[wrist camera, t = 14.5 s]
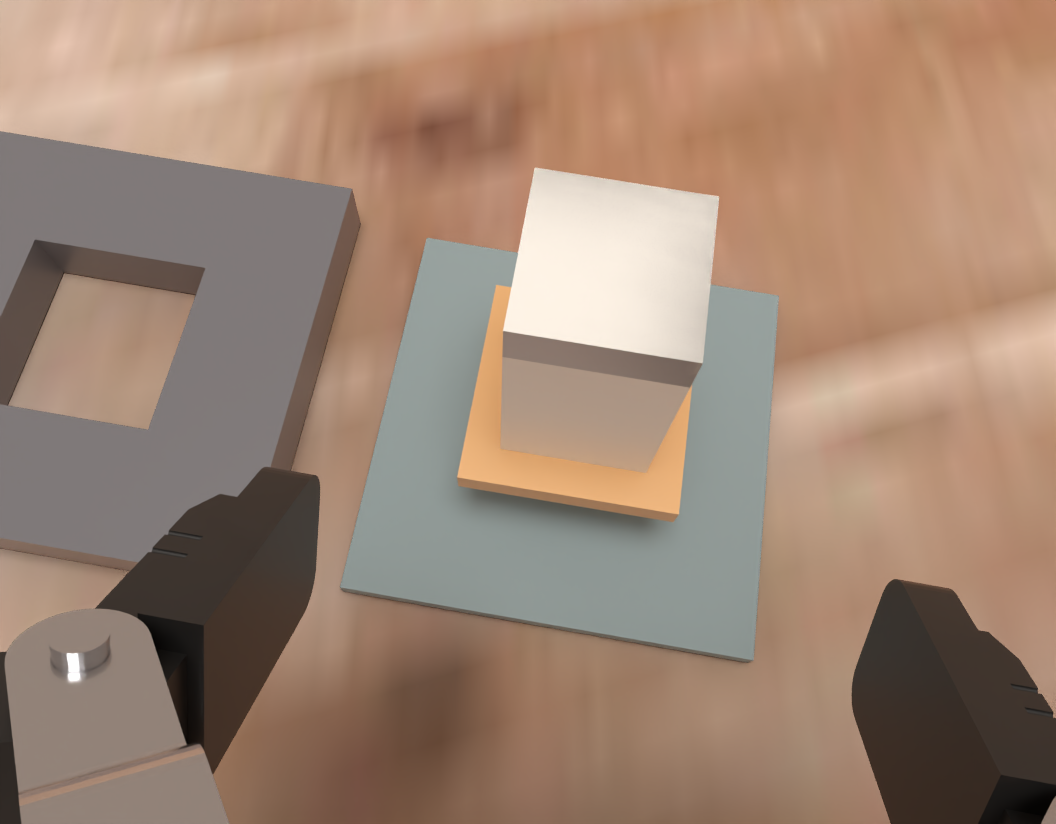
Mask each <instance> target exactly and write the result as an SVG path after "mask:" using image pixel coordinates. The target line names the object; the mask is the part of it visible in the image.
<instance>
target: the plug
mask: <svg viewBox="0 0 1056 824" xmlns="http://www.w3.org/2000/svg"><path fill="white" fill-rule="evenodd" d="M718 203H719V197H718V196H712V195H705V194H699V193H693V192H686V191H680V190H674V189H667V188H661V187H655V186H648V185H642V184H636V183H629V182H623V181H617V180H610V179H604V178H598V177H591V176H585V175H579V174H572V173H566V172H560V171H553V170H547V169H541V168H535V170H534V175H533V180H532V185H531V190H530V195H529V200H528V205H527V210H526V216H525V221H524V226H523V231H522V236H521V241H520V246H519V251H518V256H517V262H516V267H515V272H514V277H513V282H512V287H506V286H500V285H496V288H495V293H494V298H493V303H492V308H491V313H490V318H489V323H488V328H487V333H486V338H485V343H484V348H483V352H482V357H481V362H480V367H479V372H478V377H477V382H476V387H475V392H474V397H473V402H472V407H471V411H470V416H469V421H468V426H467V431H466V436H465V441H464V446H463V451H462V456H461V461H460V466H459V470H458V475H457V480H458V486H461V487H467V488H473V489H479V490H485V491H490V492H496V493H502V494H508V495H514V496H520V497H526V498H532V499H538V500H544V501H550V502H556V503H562V504H568V505H574V506H580V507H586V508H592V509H597V510H603V511H609V512H615V513H621V514H627V515H633V516H639V517H645V518H651V519H657V520H663V521H669V522H674V520H675V519H676V518H677V516H678V515H679V509H680V499H681V489H682V479H683V469H684V460H685V450H686V440H687V430H688V420H689V411H690V401H691V391H692V383H693V381H694V379H695V377H696V376H697V374H698V372H699V370H700V368H701V366H702V364H703V356H704V346H705V336H706V326H707V315H708V305H709V295H710V285H711V274H712V264H713V254H714V244H715V234H716V223H717V213H718Z"/></svg>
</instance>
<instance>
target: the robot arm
mask: <svg viewBox="0 0 1056 824" xmlns="http://www.w3.org/2000/svg"><path fill="white" fill-rule="evenodd" d="M319 503H320V482H319V479H318V477H317V476H316V475H311V474H305V473H300V472H294V471H288V470H283V469H277V468H271V467H263V468H262V469H261V470H260V471H259V472H258V473H257V474H256V476H255V477H254V478H253V479H252V480H251V481H250V483H249V484H248V485H247V486H246V487H245V488H244V490H243V491H242V492H241V493H240V494H239V495H238V497H235V496H230V495H224V494H218V495H216V496H214V497H212V498H210V499H208V500H206V501H204V502H202V503H200V504H198V505H196V506H194V507H192V508H190V509H188V510H187V511H186V512H185V513H184V514H183V516H182V517H181V518H180V519H179V520H178V521H177V522H176V523H175V524H174V525H173V526H172V527H171V528H170V529H169V532H168V535H166V534H165V535H164V536H163V537H162V538H161V539H160V540H159V541H158V542H157V543H156V544H155V545H154V546H153V547H152V552H148V553H147V554H146V555H145V556H144V557H143V558H142V559H141V560H140V561H139V562H138V563H137V564H136V566H135V567H134V568H133V569H132V570H131V571H130V572H129V573H128V574H127V575H126V576H125V577H124V578H123V579H122V580H121V581H120V583H119V584H118V585H117V586H116V587H115V588H114V589H113V590H112V591H111V592H110V593H109V594H108V595H107V596H106V597H105V598H104V600H103V601H102V602H101V603H100V604H99V605H98V606H97V607H96V608H95V609H83V610H76V611H70V612H66V613H62V614H58V615H55V616H53V617H50V618H47V619H45V620H43V621H41V622H38V623H36V624H35V625H33V626H31V627H30V628H28V629H27V630H25V631H24V632H23V633H22V634H20V635H19V636H18V637H17V638H16V639H15V640H14V641H13V642H12V644H11V645H10V647H9V649H8V650H7V652H0V824H229V821H228V818H227V815H226V812H225V810H224V807H223V804H222V801H221V798H220V795H219V792H218V789H217V786H216V783H215V780H214V778H213V774H214V772H215V770H216V768H217V767H218V765H219V763H220V761H221V759H222V758H223V756H224V754H225V752H226V751H227V749H228V747H229V745H230V743H231V742H232V740H233V738H234V736H235V735H236V733H237V731H238V729H239V728H240V726H241V724H242V722H243V720H244V719H245V717H246V715H247V713H248V712H249V710H250V708H251V706H252V705H253V703H254V701H255V699H256V697H257V696H258V694H259V692H260V690H261V689H262V687H263V685H264V683H265V682H266V680H267V678H268V676H269V674H270V673H271V671H272V669H273V667H274V666H275V664H276V662H277V660H278V659H279V657H280V655H281V653H282V651H283V650H284V648H285V646H286V644H287V643H288V641H289V639H290V637H291V636H292V634H293V632H294V630H295V628H296V627H297V625H298V623H299V621H300V620H301V618H302V616H303V614H304V612H305V610H306V608H307V605H308V602H309V600H310V596H311V593H312V589H313V584H314V579H315V572H316V557H317V539H318V521H319ZM852 708H853V713H854V717H855V720H856V723H857V726H858V729H859V732H860V735H861V737H862V740H863V743H864V746H865V749H866V752H867V755H868V758H869V761H870V764H871V767H872V770H873V773H874V776H875V779H876V781H877V784H878V787H879V790H880V793H881V796H882V799H883V802H884V805H885V808H886V811H887V814H888V817H889V820H890V823H891V824H1056V718H1053V711H1052V709H1051V708H1050V706H1049V705H1048V703H1047V702H1046V700H1045V699H1044V697H1043V695H1042V694H1038V688H1037V686H1036V684H1035V683H1034V681H1033V680H1032V678H1031V677H1030V675H1029V674H1028V672H1027V670H1026V669H1025V667H1024V666H1023V664H1022V663H1021V661H1020V660H1019V659H1018V658H1017V657H1016V656H1015V655H1014V654H1013V653H1011V652H1010V651H1009V650H1008V649H1007V648H1006V647H1005V646H1003V645H1002V644H1001V643H1000V642H999V641H998V640H997V639H995V638H994V637H993V636H992V635H991V634H990V633H989V632H985V631H979V630H978V629H977V628H976V626H975V624H974V623H973V621H972V619H971V618H970V616H969V615H968V613H967V611H966V610H965V608H964V606H963V605H962V603H961V601H960V600H959V598H958V596H957V595H956V593H955V592H954V591H953V590H951V589H949V588H943V587H937V586H932V585H926V584H920V583H915V582H909V581H904V580H898V579H894V580H892V581H891V582H889V583H888V585H887V586H886V588H885V590H884V592H883V594H882V597H881V599H880V602H879V605H878V608H877V610H876V613H875V616H874V619H873V621H872V624H871V627H870V630H869V633H868V635H867V638H866V641H865V644H864V646H863V649H862V652H861V655H860V657H859V660H858V663H857V666H856V669H855V672H854V677H853V683H852Z"/></svg>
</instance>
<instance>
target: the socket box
mask: <svg viewBox="0 0 1056 824" xmlns="http://www.w3.org/2000/svg"><path fill="white" fill-rule="evenodd" d="M360 224H361V223H360V219H359V215H358V211H357V207H356V203H355V199H354V195H353V191H352V189H350V188H344V187H337V186H331V185H325V184H319V183H313V182H307V181H301V180H295V179H289V178H282V177H276V176H270V175H264V174H258V173H252V172H246V171H240V170H233V169H227V168H221V167H215V166H209V165H203V164H197V163H191V162H185V161H178V160H172V159H166V158H160V157H154V156H148V155H142V154H136V153H129V152H123V151H117V150H111V149H105V148H99V147H93V146H87V145H81V144H74V143H68V142H62V141H56V140H50V139H44V138H38V137H32V136H26V135H19V134H13V133H7V132H1V131H0V548H3V549H9V550H14V551H20V552H26V553H31V554H37V555H43V556H48V557H54V558H60V559H65V560H71V561H76V562H82V563H88V564H93V565H99V566H105V567H110V568H116V569H122V570H127V571H131V570H132V569H133V568H134V567H135V566H136V564H137V563H138V562H139V561H140V560H141V559H142V558H143V557H144V556H145V555H146V554H147V553H148V552H152V547H153V546H154V545H155V544H156V543H157V542H158V541H159V540H160V539H161V538H162V537H163V536H164V535H165V534H166V535H168V532H169V529H170V528H171V527H172V526H173V525H174V524H175V523H176V522H177V521H178V520H179V519H180V518H181V517H182V516H183V514H184V513H185V512H186V511H187V510H188V509H190V508H192V507H194V506H196V505H198V504H200V503H202V502H204V501H206V500H208V499H210V498H212V497H214V496H216V495H218V494H224V495H230V496H235V497H238V495H239V494H240V493H241V492H242V491H243V490H244V488H245V487H246V486H247V485H248V484H249V483H250V481H251V480H252V479H253V478H254V477H255V476H256V474H257V473H258V472H259V471H260V470H261V469H262V468H263V467H271V468H277V469H283V470H288V471H290V470H291V467H292V463H293V460H294V456H295V453H296V449H297V446H298V442H299V439H300V435H301V432H302V428H303V425H304V421H305V418H306V414H307V411H308V407H309V404H310V400H311V396H312V393H313V389H314V386H315V382H316V379H317V375H318V372H319V368H320V365H321V361H322V358H323V354H324V351H325V347H326V344H327V340H328V337H329V333H330V330H331V326H332V323H333V319H334V316H335V312H336V309H337V305H338V301H339V298H340V294H341V291H342V287H343V284H344V280H345V277H346V273H347V270H348V266H349V263H350V259H351V256H352V252H353V249H354V245H355V242H356V238H357V235H358V231H359V228H360ZM63 273H70V274H76V275H82V276H88V277H94V278H100V279H106V280H112V281H118V282H124V283H129V284H135V285H141V286H147V287H153V288H159V289H165V290H171V291H177V292H183V293H189V294H195V295H196V296H195V299H194V302H193V305H192V308H191V310H190V313H189V316H188V319H187V322H186V325H185V327H184V330H183V333H182V336H181V339H180V341H179V344H178V347H177V350H176V353H175V356H174V358H173V361H172V364H171V367H170V370H169V372H168V375H167V378H166V381H165V384H164V387H163V389H162V392H161V395H160V398H159V401H158V403H157V406H156V409H155V412H154V415H153V418H152V420H151V423H150V426H149V429H148V430H146V429H140V428H134V427H129V426H123V425H117V424H111V423H105V422H100V421H94V420H88V419H82V418H76V417H71V416H65V415H59V414H53V413H47V412H42V411H36V410H30V409H24V408H18V407H13V406H7V405H8V402H9V400H10V398H11V395H12V393H13V391H14V388H15V386H16V384H17V381H18V379H19V376H20V374H21V372H22V369H23V367H24V365H25V362H26V360H27V358H28V355H29V353H30V351H31V348H32V346H33V343H34V341H35V339H36V336H37V334H38V332H39V329H40V327H41V325H42V322H43V320H44V318H45V315H46V313H47V310H48V308H49V306H50V303H51V301H52V299H53V296H54V294H55V292H56V289H57V287H58V285H59V282H60V280H61V278H62V275H63Z"/></svg>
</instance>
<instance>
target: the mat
mask: <svg viewBox="0 0 1056 824" xmlns="http://www.w3.org/2000/svg"><path fill="white" fill-rule="evenodd" d="M517 256H518V253H516V252H510V251H504V250H498V249H492V248H485V247H479V246H473V245H467V244H461V243H455V242H449V241H443V240H437V239H431V238H427V240H426V244H425V248H424V252H423V256H422V260H421V264H420V268H419V272H418V276H417V280H416V284H415V288H414V292H413V296H412V300H411V304H410V308H409V312H408V316H407V320H406V324H405V328H404V332H403V336H402V340H401V344H400V348H399V352H398V356H397V360H396V364H395V368H394V372H393V376H392V380H391V384H390V388H389V392H388V396H387V400H386V404H385V408H384V412H383V417H382V421H381V425H380V429H379V433H378V437H377V441H376V445H375V449H374V453H373V457H372V461H371V465H370V469H369V473H368V477H367V481H366V485H365V489H364V493H363V497H362V501H361V505H360V509H359V513H358V517H357V521H356V525H355V529H354V533H353V537H352V541H351V545H350V549H349V553H348V557H347V561H346V565H345V569H344V573H343V577H342V581H341V585H340V588H341V589H342V590H343V591H345V592H351V593H356V594H362V595H368V596H373V597H379V598H385V599H390V600H396V601H402V602H407V603H413V604H419V605H424V606H430V607H436V608H441V609H447V610H453V611H458V612H464V613H470V614H475V615H481V616H487V617H492V618H498V619H503V620H509V621H515V622H520V623H526V624H532V625H537V626H543V627H549V628H554V629H560V630H566V631H571V632H577V633H583V634H588V635H594V636H600V637H605V638H611V639H617V640H622V641H628V642H634V643H639V644H645V645H651V646H656V647H662V648H668V649H673V650H679V651H684V652H690V653H696V654H701V655H707V656H713V657H718V658H724V659H730V660H735V661H741V662H747V663H748V662H751V661H753V660H754V647H755V632H756V618H757V604H758V589H759V575H760V560H761V546H762V531H763V517H764V502H765V488H766V473H767V459H768V444H769V430H770V416H771V401H772V387H773V372H774V358H775V343H776V329H777V314H778V300H779V296H777V295H771V294H765V293H759V292H753V291H747V290H741V289H734V288H728V287H722V286H716V285H710V295H709V305H708V315H707V326H706V336H705V346H704V356H703V364H702V366H701V368H700V370H699V372H698V374H697V376H696V377H695V379H694V381H693V383H692V391H691V401H690V411H689V420H688V430H687V440H686V450H685V460H684V469H683V479H682V489H681V499H680V509H679V515H678V516H677V518H676V519H675V520H674V522H669V521H663V520H657V519H651V518H645V517H639V516H633V515H627V514H621V513H615V512H609V511H603V510H597V509H592V508H586V507H580V506H574V505H568V504H562V503H556V502H550V501H544V500H538V499H532V498H526V497H520V496H514V495H508V494H502V493H496V492H490V491H485V490H479V489H473V488H467V487H461V486H458V480H457V475H458V470H459V466H460V461H461V456H462V451H463V446H464V441H465V436H466V431H467V426H468V421H469V416H470V411H471V407H472V402H473V397H474V392H475V387H476V382H477V377H478V372H479V367H480V362H481V357H482V352H483V348H484V343H485V338H486V333H487V328H488V323H489V318H490V313H491V308H492V303H493V298H494V293H495V288H496V285H500V286H506V287H512V282H513V277H514V272H515V267H516V262H517Z"/></svg>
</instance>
